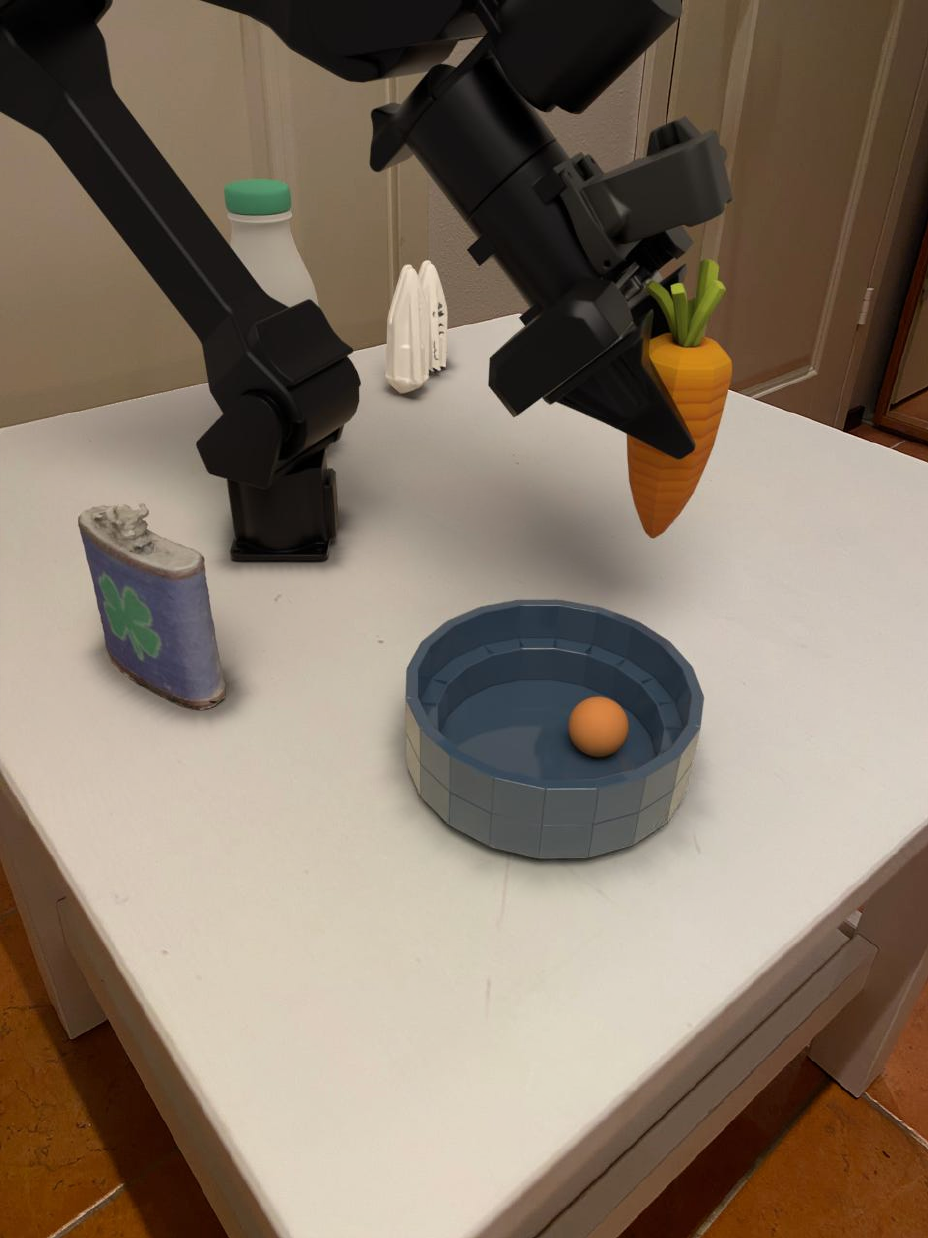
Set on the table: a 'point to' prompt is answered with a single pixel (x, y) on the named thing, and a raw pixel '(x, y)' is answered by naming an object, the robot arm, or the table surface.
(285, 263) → the milk bottle
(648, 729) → the bowl
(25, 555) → the table surface
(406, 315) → the shaker set
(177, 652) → the flask
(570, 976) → the table surface
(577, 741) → the ball
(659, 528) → the carrot
